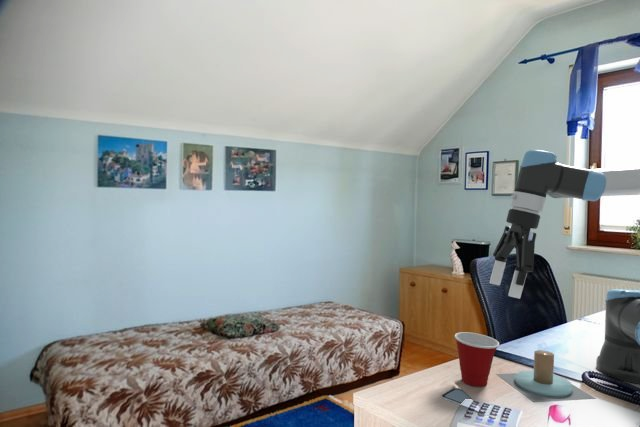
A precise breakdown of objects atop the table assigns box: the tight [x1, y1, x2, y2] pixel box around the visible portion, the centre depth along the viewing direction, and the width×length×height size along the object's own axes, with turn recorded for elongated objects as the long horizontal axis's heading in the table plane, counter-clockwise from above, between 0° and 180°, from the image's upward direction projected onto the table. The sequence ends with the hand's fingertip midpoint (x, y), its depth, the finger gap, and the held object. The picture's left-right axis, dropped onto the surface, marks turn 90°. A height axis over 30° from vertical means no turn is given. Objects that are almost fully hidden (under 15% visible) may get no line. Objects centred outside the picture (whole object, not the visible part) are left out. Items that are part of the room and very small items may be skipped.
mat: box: [495, 372, 597, 403], centre depth 111 cm, size 16×16×1 cm
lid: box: [515, 349, 574, 397], centre depth 111 cm, size 13×13×8 cm
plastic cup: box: [454, 331, 500, 388], centre depth 112 cm, size 11×11×12 cm
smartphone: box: [440, 387, 473, 406], centre depth 102 cm, size 7×1×15 cm
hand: (503, 290), depth 114 cm, fingers open, 13 cm apart
